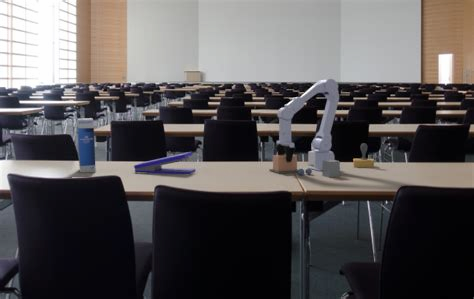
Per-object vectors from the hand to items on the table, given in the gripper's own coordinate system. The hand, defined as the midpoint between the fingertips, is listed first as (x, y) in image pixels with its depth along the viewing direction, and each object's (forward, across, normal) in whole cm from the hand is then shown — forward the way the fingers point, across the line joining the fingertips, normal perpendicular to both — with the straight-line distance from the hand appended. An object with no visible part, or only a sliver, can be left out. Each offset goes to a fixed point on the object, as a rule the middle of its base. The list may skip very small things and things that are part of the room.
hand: (285, 160), depth 254 cm
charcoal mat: (+5, 0, 0) cm, 5 cm away
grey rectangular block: (+5, +20, +13) cm, 24 cm away
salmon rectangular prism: (+4, 0, 0) cm, 4 cm away
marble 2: (+5, +12, +6) cm, 14 cm away
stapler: (+6, -26, -53) cm, 59 cm away
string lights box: (+5, -45, -87) cm, 98 cm away
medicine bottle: (+6, -12, +25) cm, 28 cm away
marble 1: (+5, +12, +2) cm, 13 cm away
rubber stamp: (+6, +3, +43) cm, 43 cm away
